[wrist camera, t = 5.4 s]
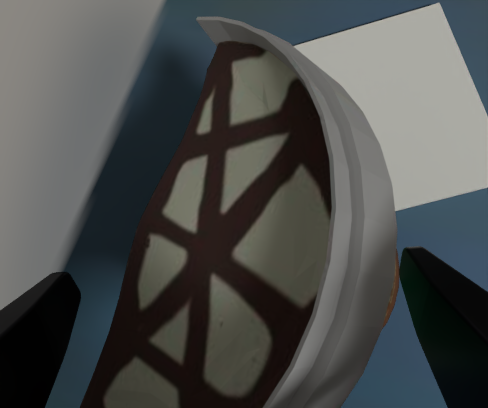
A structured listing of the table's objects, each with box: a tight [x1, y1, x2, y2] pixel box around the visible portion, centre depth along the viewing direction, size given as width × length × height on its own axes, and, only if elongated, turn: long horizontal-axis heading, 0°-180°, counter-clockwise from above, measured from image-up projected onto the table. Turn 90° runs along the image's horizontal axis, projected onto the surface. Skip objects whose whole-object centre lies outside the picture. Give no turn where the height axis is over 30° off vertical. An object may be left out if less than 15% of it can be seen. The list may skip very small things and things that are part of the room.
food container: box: [80, 17, 399, 408], centre depth 11 cm, size 12×6×10 cm, turn 159°
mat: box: [293, 3, 488, 211], centre depth 18 cm, size 10×12×1 cm
